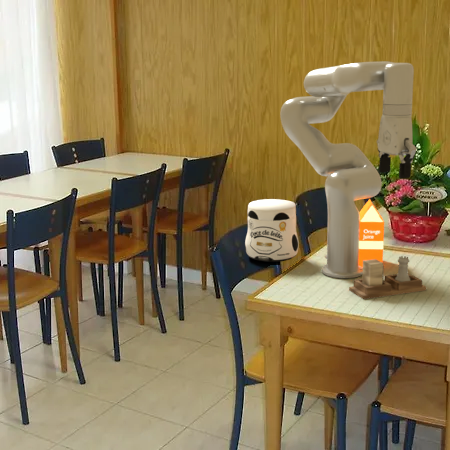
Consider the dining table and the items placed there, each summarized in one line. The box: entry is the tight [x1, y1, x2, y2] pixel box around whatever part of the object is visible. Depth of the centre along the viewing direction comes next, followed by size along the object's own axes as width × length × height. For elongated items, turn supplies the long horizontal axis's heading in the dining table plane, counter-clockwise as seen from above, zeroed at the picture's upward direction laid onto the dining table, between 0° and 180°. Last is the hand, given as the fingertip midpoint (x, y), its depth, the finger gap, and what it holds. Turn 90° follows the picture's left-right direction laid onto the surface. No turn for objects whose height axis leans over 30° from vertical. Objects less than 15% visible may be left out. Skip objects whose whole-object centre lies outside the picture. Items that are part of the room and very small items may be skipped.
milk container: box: [244, 198, 300, 263], centre depth 234 cm, size 17×17×18 cm
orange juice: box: [359, 198, 385, 268], centre depth 226 cm, size 8×9×20 cm
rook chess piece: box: [395, 255, 411, 282], centre depth 205 cm, size 4×4×8 cm
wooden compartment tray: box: [348, 259, 427, 300], centre depth 203 cm, size 8×20×9 cm, turn 109°
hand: (394, 174), depth 195 cm, fingers open, 9 cm apart
